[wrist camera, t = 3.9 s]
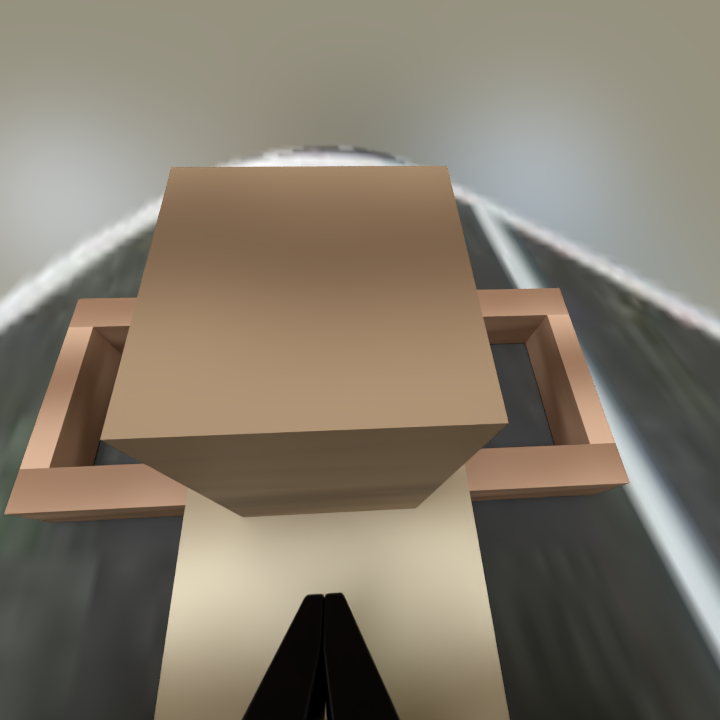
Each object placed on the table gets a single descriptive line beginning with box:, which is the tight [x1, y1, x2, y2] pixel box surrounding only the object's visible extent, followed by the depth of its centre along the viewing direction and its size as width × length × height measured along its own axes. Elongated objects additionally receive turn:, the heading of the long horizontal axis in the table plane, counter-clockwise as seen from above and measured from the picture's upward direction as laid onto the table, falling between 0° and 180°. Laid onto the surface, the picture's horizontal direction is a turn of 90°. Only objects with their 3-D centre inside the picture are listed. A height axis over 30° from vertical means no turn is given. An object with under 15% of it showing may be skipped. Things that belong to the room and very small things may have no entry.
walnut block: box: [100, 166, 508, 517], centre depth 11 cm, size 6×6×9 cm
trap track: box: [4, 288, 630, 720], centre depth 17 cm, size 26×22×2 cm
